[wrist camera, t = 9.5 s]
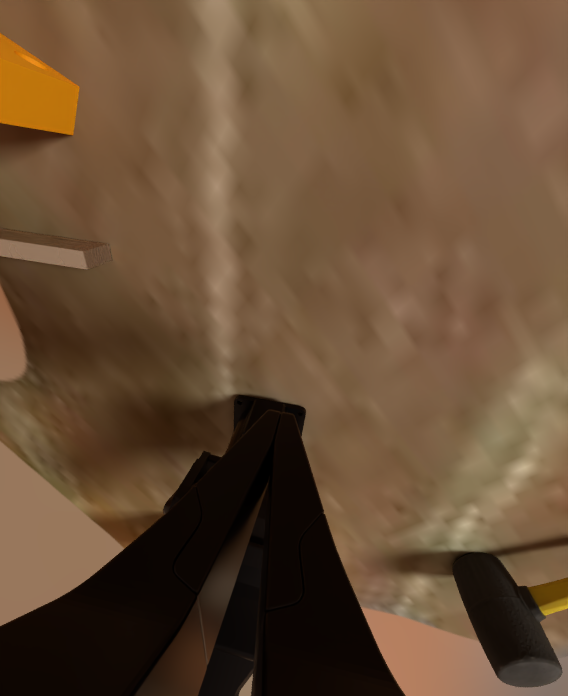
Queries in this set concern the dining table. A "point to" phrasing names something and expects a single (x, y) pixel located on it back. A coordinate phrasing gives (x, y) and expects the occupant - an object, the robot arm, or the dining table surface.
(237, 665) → the robot arm
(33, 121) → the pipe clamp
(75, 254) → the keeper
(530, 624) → the mallet
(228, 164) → the dining table surface
